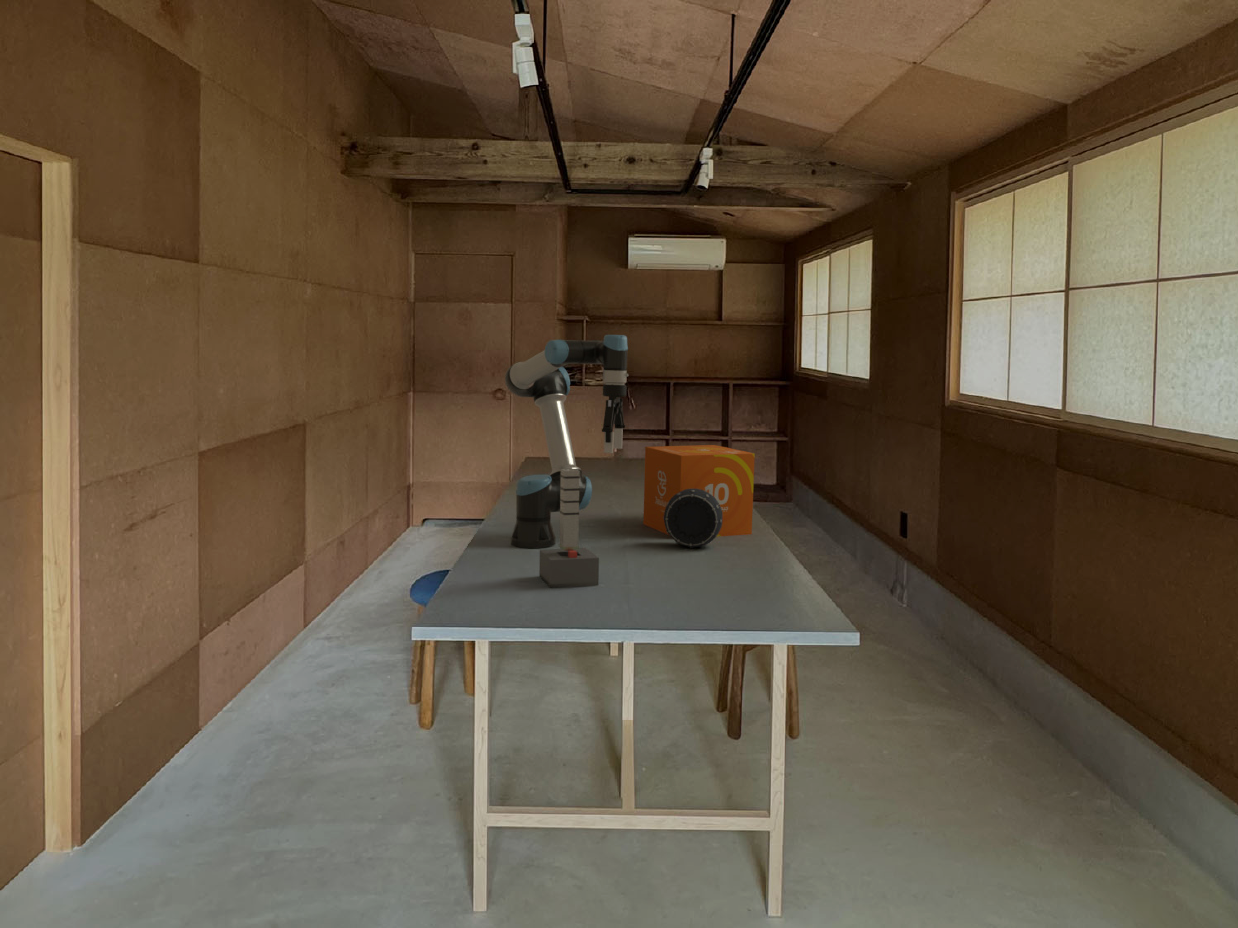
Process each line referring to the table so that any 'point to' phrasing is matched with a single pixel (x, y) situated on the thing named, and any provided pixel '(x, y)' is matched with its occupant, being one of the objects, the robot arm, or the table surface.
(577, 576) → the stand
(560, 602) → the table surface
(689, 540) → the studded black puck
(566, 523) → the column
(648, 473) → the box
